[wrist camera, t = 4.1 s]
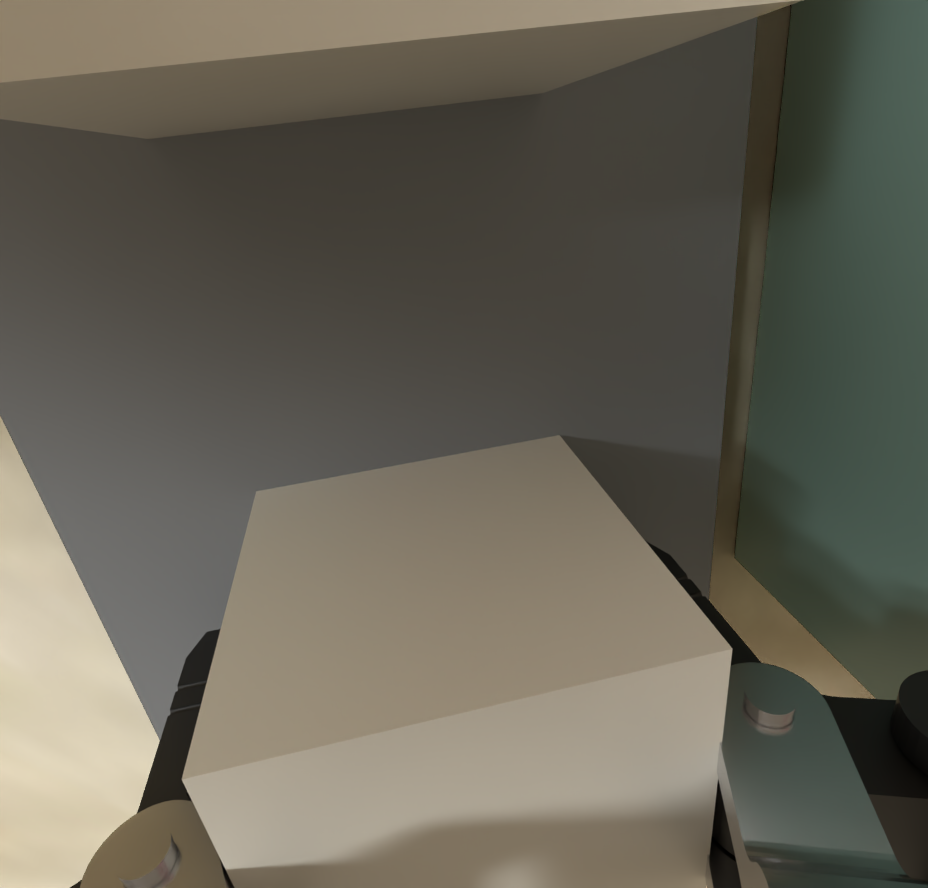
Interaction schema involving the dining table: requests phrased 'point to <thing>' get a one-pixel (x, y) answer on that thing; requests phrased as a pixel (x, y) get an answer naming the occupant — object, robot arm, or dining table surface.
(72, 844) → the dining table surface
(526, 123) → the stone mat
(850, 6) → the bin
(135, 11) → the pale stone
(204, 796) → the pale stone
